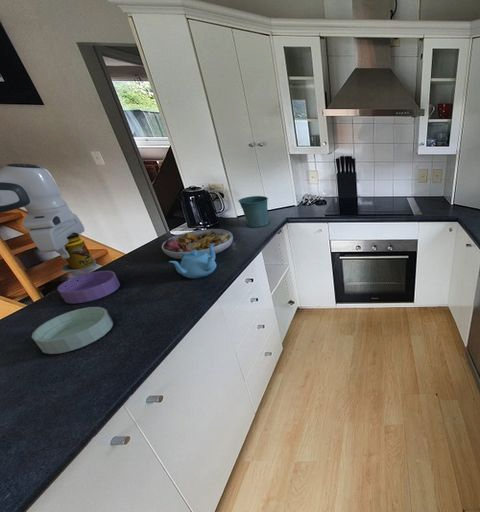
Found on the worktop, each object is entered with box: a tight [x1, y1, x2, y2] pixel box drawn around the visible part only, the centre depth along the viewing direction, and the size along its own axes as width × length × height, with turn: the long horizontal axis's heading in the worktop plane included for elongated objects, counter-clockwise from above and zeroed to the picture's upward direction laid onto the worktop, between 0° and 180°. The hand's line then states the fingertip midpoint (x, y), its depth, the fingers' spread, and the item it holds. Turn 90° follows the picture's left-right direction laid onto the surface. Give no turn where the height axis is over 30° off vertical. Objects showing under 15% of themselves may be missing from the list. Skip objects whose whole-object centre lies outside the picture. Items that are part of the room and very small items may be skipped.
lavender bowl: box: [56, 270, 121, 304], centre depth 101 cm, size 15×15×5 cm
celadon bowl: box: [31, 306, 114, 355], centre depth 81 cm, size 15×15×5 cm
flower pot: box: [238, 195, 270, 228], centre depth 168 cm, size 16×16×16 cm
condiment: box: [61, 233, 97, 274], centre depth 95 cm, size 7×8×12 cm
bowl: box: [161, 228, 234, 260], centre depth 137 cm, size 30×30×8 cm
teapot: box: [168, 243, 217, 279], centre depth 115 cm, size 15×15×10 cm
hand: (72, 253), depth 95 cm, fingers closed on condiment, 6 cm apart
